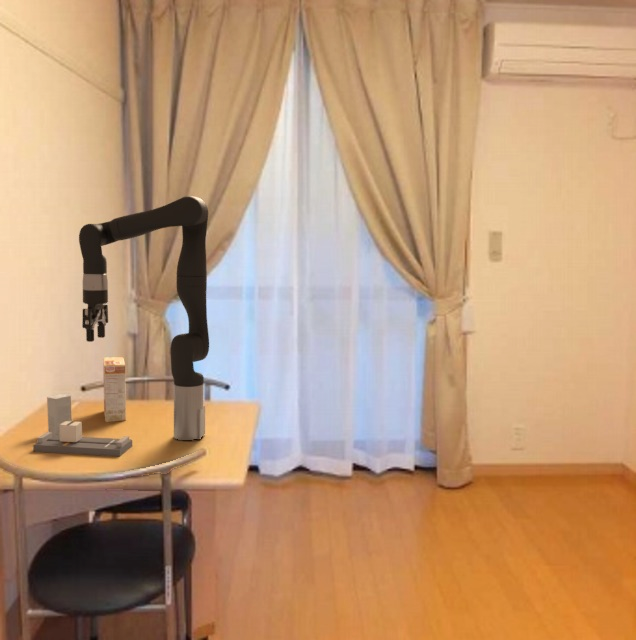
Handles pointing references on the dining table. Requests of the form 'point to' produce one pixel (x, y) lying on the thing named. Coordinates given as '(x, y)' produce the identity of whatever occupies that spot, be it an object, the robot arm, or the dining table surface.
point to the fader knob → (70, 431)
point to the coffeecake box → (114, 389)
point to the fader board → (83, 445)
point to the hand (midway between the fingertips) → (95, 339)
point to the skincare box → (58, 412)
